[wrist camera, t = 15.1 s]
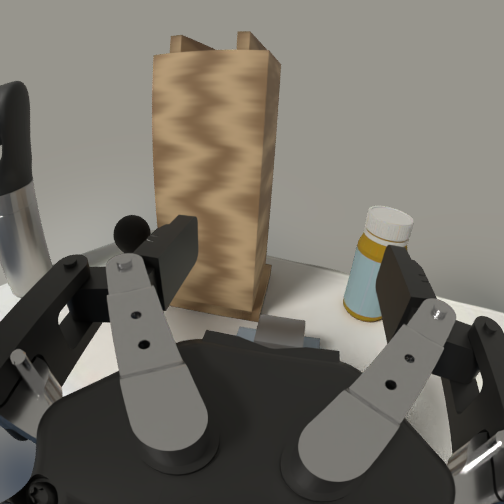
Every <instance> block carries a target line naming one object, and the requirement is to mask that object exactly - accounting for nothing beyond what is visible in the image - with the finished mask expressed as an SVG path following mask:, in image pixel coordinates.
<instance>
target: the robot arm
mask: <svg viewBox="0 0 504 504" xmlns="http://www.w3.org/2000/svg"><path fill="white" fill-rule="evenodd" d="M30 143H31V142H30V103H29V96H28V91H27V88H26V86H25V85H24V84H23V83H22V82H20V81H14V82H11V83H7V84H4V85H1V86H0V145H2V158H1V160H0V263H1V266H2V268H3V271H4V273H5V277H6V279H7V282H8V284H9V286H10V288H11V290H12V292H13V294H14V295H16V296H18V297H22V298H21V300H20V301H19V302H18V303H17V304H16V305H15V306H14V307H13V308H12V309H11V310H10V312H9V313H8V314H7V315H6V316H5V317H4V318H3V319H2V321H1V322H0V426H1V427H2V428H4V429H5V430H6V431H7V432H8V433H9V434H10V435H11V436H12V437H14V438H15V439H17V440H20V441H26V440H30V441H32V442H33V443H35V444H36V456H35V462H34V467H33V471H32V475H31V477H30V479H29V481H28V483H27V484H26V485H25V486H24V487H23V488H22V489H21V490H20V491H19V492H17V493H16V494H15V495H13V496H12V497H10V498H9V499H7V500H5V501H3V502H1V503H0V504H504V333H503V331H502V329H501V327H500V326H499V325H498V324H497V323H496V322H495V321H494V320H492V319H490V318H488V317H485V316H479V317H477V318H476V319H475V321H474V323H473V324H472V326H471V325H468V324H465V323H462V322H460V321H457V320H456V314H455V312H454V310H453V309H452V308H451V307H450V306H449V305H448V304H447V303H445V302H443V301H441V300H438V299H437V298H436V296H435V294H434V292H433V289H432V287H431V285H430V283H429V281H428V279H427V277H426V275H425V273H424V271H423V269H422V267H421V266H420V265H419V264H418V263H416V261H414V260H411V258H410V256H409V254H408V252H407V250H406V248H405V247H401V246H395V245H387V247H386V249H385V252H384V255H383V259H382V262H381V265H380V268H379V271H378V275H377V278H376V286H375V288H376V294H377V298H378V302H379V307H380V311H381V316H382V320H383V325H384V330H385V335H386V340H387V345H386V347H385V348H384V349H383V350H382V351H381V353H380V354H379V355H378V356H377V357H376V359H375V360H374V361H373V362H372V363H371V364H370V365H369V367H368V368H367V369H366V370H365V371H364V372H363V373H362V372H361V371H359V370H358V369H356V368H354V367H353V366H351V365H348V364H346V363H344V362H341V361H340V355H339V351H334V350H326V349H318V348H310V347H301V348H280V349H272V348H268V347H265V346H262V345H260V344H257V343H255V342H252V341H249V340H247V339H244V338H242V337H239V336H235V335H229V334H224V333H219V332H214V331H209V330H206V332H205V335H204V337H203V339H194V340H187V341H182V342H178V343H175V341H174V339H173V336H172V333H171V331H170V328H169V326H168V323H167V320H166V318H165V315H164V312H163V311H166V310H167V308H168V306H169V305H170V303H171V302H172V300H173V298H174V297H175V295H176V293H177V292H178V290H179V289H180V287H181V285H182V284H183V282H184V281H185V279H186V277H187V276H188V274H189V273H190V271H191V270H192V268H193V266H194V265H195V263H196V261H197V257H198V220H197V217H196V216H188V215H178V216H177V217H176V218H175V219H174V220H173V221H172V222H171V223H170V224H165V225H163V226H161V227H159V228H157V229H156V230H155V231H154V232H153V233H152V234H151V236H149V237H148V238H147V239H146V241H144V242H143V243H142V244H141V245H140V246H139V247H138V248H137V249H136V250H135V251H134V252H133V253H125V254H120V255H117V256H115V257H113V258H111V259H110V260H109V261H108V262H107V264H106V267H89V264H88V260H87V258H86V257H85V256H83V255H70V256H67V257H65V258H63V259H61V260H59V261H58V262H57V263H56V264H55V265H54V266H52V263H51V259H50V256H49V252H48V248H47V244H46V241H45V237H44V232H43V228H42V224H41V220H40V215H39V210H38V205H37V200H36V195H35V189H34V183H33V177H32V155H31V144H30ZM66 304H67V306H68V309H69V311H70V312H69V313H68V314H67V316H66V317H65V318H64V319H63V321H62V322H61V323H60V325H59V324H58V316H59V313H60V311H61V310H62V309H63V307H64V306H65V305H66ZM102 322H110V323H111V330H112V336H113V342H114V347H115V353H116V358H117V363H118V368H119V371H117V372H115V373H113V374H111V375H109V376H107V377H105V378H103V379H101V380H99V381H97V382H94V383H92V384H90V385H88V386H86V387H84V388H82V389H79V390H77V391H75V392H73V393H71V394H69V395H66V396H64V397H62V388H61V387H62V386H63V384H64V382H65V381H66V379H67V377H68V376H69V374H70V372H71V371H72V369H73V368H74V366H75V364H76V363H77V361H78V360H79V358H80V356H81V355H82V353H83V352H84V350H85V349H86V347H87V345H88V344H89V342H90V341H91V339H92V338H93V336H94V335H95V333H96V332H97V330H98V329H99V327H100V326H101V324H102ZM479 372H481V376H482V379H483V386H482V390H481V392H480V393H479V389H478V386H477V382H476V378H475V377H476V376H477V375H478V373H479ZM431 374H434V375H437V376H440V377H441V380H442V385H443V390H444V395H445V401H446V407H447V413H448V419H449V426H450V434H451V442H452V452H453V454H452V455H451V457H450V458H449V460H448V464H447V465H446V464H445V462H444V461H443V460H442V459H441V458H440V457H439V456H438V455H437V453H436V452H435V451H434V450H433V449H432V448H431V447H430V446H429V445H428V443H427V442H426V441H425V440H424V439H423V438H422V437H421V436H420V435H419V433H418V432H417V431H416V430H415V429H414V428H413V427H412V426H411V424H410V423H409V422H408V421H407V420H406V419H405V418H404V417H405V416H406V414H407V413H408V411H409V410H410V408H411V407H412V405H413V403H414V402H415V400H416V399H417V397H418V395H419V394H420V392H421V390H422V389H423V387H424V385H425V383H426V382H427V380H428V378H429V376H430V375H431Z"/></svg>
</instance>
